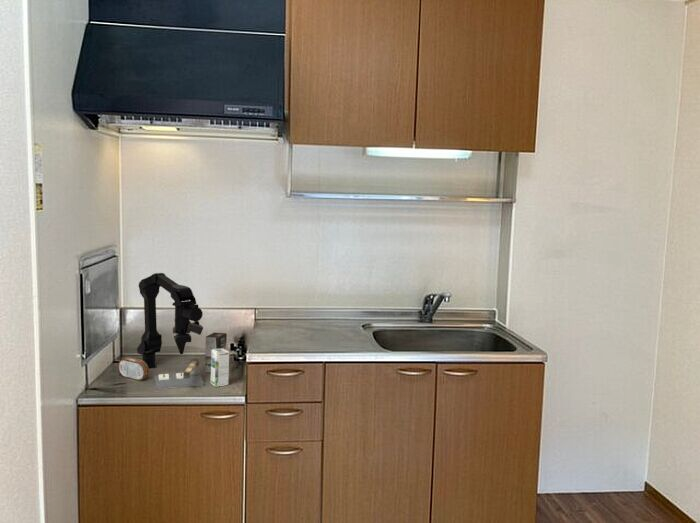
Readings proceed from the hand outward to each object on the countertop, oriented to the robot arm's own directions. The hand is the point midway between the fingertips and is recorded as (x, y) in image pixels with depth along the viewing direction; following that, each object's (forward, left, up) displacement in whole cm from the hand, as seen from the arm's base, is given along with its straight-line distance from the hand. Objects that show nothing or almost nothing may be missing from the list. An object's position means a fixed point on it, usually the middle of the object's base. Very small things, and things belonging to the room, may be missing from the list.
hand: (181, 353), depth 234 cm
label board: (+4, -1, -11) cm, 12 cm away
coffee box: (-10, +16, -11) cm, 22 cm away
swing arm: (+7, +3, -5) cm, 9 cm away
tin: (-6, -19, -11) cm, 23 cm away
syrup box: (+10, +15, -11) cm, 21 cm away
